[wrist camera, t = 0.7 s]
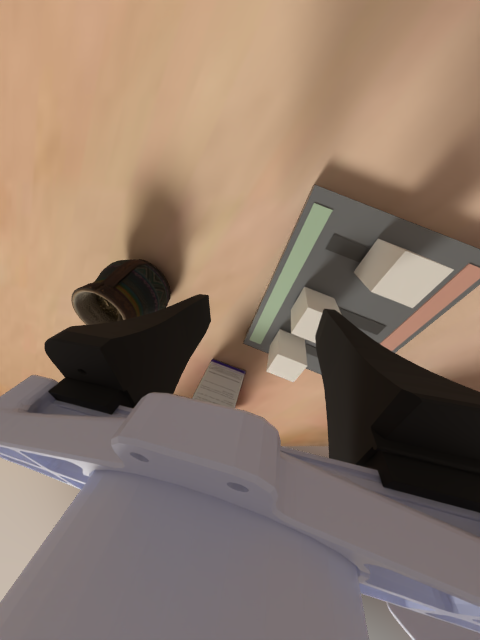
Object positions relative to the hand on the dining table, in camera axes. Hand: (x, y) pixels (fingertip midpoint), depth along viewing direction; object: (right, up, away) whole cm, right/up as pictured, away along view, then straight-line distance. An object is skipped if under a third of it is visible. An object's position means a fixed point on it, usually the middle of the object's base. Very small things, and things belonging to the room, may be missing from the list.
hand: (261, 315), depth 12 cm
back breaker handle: (+4, -3, +9) cm, 11 cm away
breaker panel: (+9, +1, +8) cm, 12 cm away
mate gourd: (-12, +5, +12) cm, 18 cm away
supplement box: (-4, -9, +19) cm, 21 cm away
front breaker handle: (+10, +4, +3) cm, 11 cm away
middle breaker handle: (+6, +1, +6) cm, 8 cm away
